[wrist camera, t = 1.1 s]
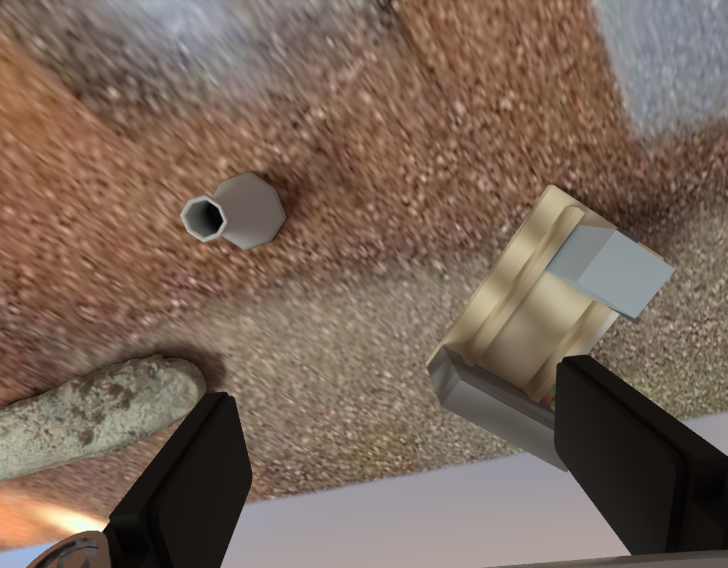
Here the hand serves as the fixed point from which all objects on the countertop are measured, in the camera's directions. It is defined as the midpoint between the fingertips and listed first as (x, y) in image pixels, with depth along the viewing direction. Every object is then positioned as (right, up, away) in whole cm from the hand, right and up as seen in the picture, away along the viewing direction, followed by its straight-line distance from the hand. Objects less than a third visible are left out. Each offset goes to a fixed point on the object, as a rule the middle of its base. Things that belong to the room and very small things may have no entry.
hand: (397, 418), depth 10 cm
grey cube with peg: (+23, +6, +25) cm, 34 cm away
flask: (-12, +11, +24) cm, 30 cm away
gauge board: (+17, +1, +27) cm, 32 cm away
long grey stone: (-35, -11, +30) cm, 48 cm away
